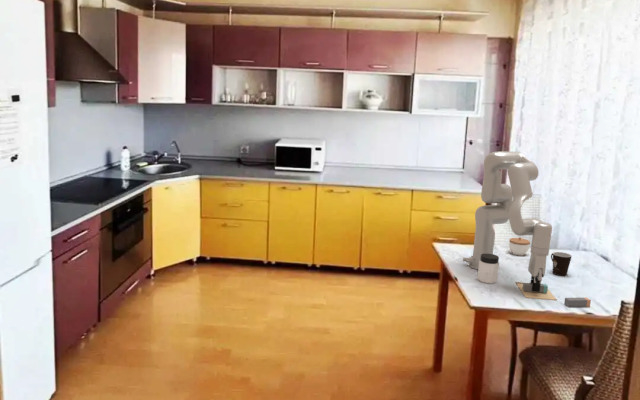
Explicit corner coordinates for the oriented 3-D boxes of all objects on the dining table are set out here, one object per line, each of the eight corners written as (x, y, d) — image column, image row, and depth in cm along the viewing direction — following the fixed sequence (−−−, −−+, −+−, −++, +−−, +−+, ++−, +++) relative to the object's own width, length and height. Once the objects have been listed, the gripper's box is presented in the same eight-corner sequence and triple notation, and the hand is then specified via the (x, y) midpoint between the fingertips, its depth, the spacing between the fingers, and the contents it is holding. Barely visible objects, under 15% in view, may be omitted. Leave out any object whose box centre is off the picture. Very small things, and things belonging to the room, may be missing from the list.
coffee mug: (570, 277, 279) (573, 257, 277) (552, 275, 280) (554, 256, 278) (565, 270, 290) (568, 251, 288) (547, 268, 292) (550, 249, 290)
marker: (524, 291, 254) (524, 285, 254) (522, 289, 257) (523, 282, 257) (547, 292, 253) (547, 286, 253) (545, 290, 256) (546, 284, 256)
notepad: (525, 297, 248) (526, 296, 248) (515, 283, 266) (515, 282, 266) (556, 300, 247) (556, 299, 247) (544, 285, 265) (544, 284, 265)
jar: (476, 281, 266) (479, 257, 263) (477, 276, 273) (480, 252, 271) (496, 284, 263) (499, 259, 261) (497, 279, 271) (499, 255, 268)
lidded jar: (504, 250, 320) (506, 234, 318) (522, 251, 321) (525, 235, 320) (513, 256, 310) (515, 239, 308) (531, 257, 311) (534, 240, 309)
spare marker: (568, 307, 239) (569, 300, 239) (564, 304, 242) (565, 297, 242) (589, 306, 241) (590, 300, 241) (585, 304, 244) (586, 297, 243)
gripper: (526, 244, 260) (521, 283, 264) (535, 255, 244) (530, 295, 248) (543, 246, 259) (538, 284, 263) (554, 256, 243) (548, 297, 247)
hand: (534, 289), depth 255 cm, fingers closed on marker, 2 cm apart
